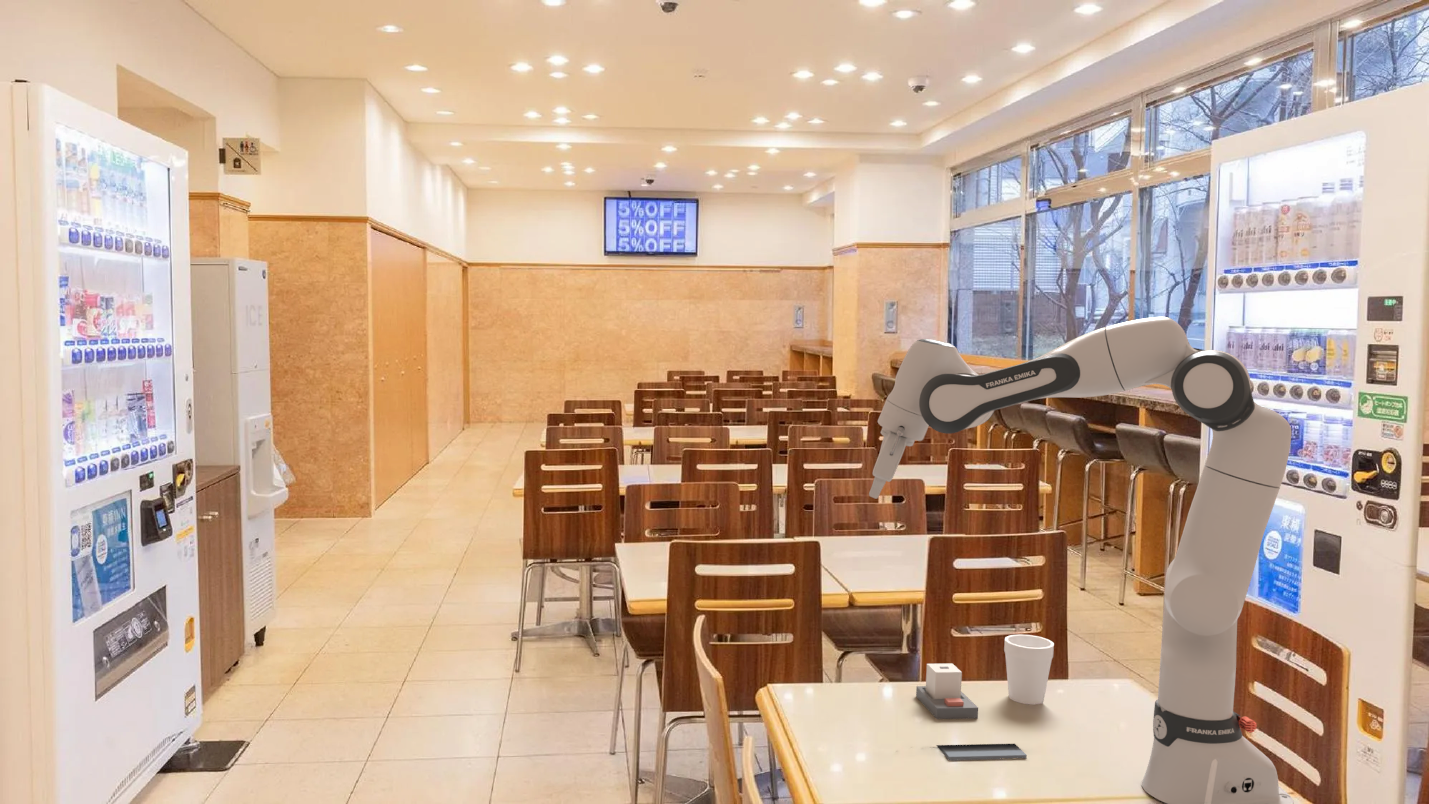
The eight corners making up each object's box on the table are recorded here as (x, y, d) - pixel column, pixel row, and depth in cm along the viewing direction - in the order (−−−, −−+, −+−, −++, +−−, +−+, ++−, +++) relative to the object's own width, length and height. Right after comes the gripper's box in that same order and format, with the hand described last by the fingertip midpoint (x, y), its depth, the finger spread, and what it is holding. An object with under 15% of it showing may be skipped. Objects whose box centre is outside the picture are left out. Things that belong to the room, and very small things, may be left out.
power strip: (954, 702, 207) (955, 681, 207) (977, 725, 195) (978, 703, 195) (915, 703, 206) (916, 682, 205) (936, 726, 194) (937, 704, 194)
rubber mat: (998, 731, 192) (999, 728, 192) (1026, 758, 180) (1026, 754, 180) (926, 733, 191) (926, 729, 190) (948, 760, 179) (949, 756, 179)
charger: (950, 698, 205) (952, 662, 205) (960, 707, 200) (961, 671, 200) (925, 698, 204) (926, 662, 204) (934, 708, 199) (935, 671, 199)
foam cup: (1056, 703, 208) (1059, 640, 207) (1043, 717, 200) (1047, 651, 199) (1008, 693, 213) (1012, 631, 212) (995, 707, 205) (998, 642, 204)
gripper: (917, 439, 178) (887, 511, 181) (921, 419, 198) (894, 485, 201) (883, 425, 179) (853, 497, 182) (890, 407, 199) (863, 472, 202)
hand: (874, 490), depth 192 cm, fingers open, 8 cm apart
